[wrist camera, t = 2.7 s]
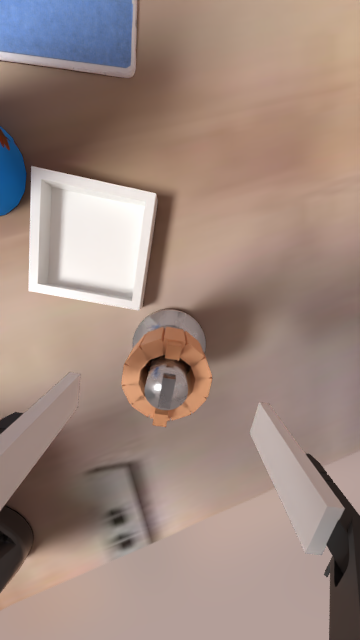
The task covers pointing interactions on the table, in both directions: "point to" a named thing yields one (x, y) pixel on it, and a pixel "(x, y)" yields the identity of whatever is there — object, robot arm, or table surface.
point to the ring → (173, 347)
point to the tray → (89, 239)
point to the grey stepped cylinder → (168, 360)
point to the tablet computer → (71, 34)
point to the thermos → (10, 173)
